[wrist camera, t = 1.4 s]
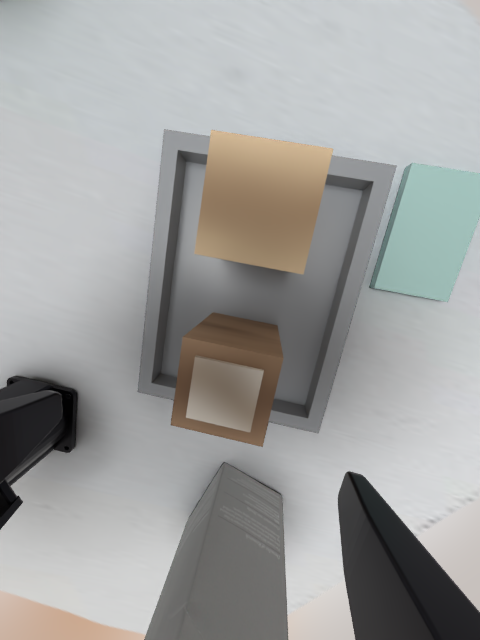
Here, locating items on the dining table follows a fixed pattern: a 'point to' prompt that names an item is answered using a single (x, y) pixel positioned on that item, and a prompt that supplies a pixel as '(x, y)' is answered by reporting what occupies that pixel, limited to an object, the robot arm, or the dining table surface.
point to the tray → (261, 280)
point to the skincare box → (227, 567)
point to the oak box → (261, 200)
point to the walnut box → (228, 378)
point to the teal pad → (428, 232)
